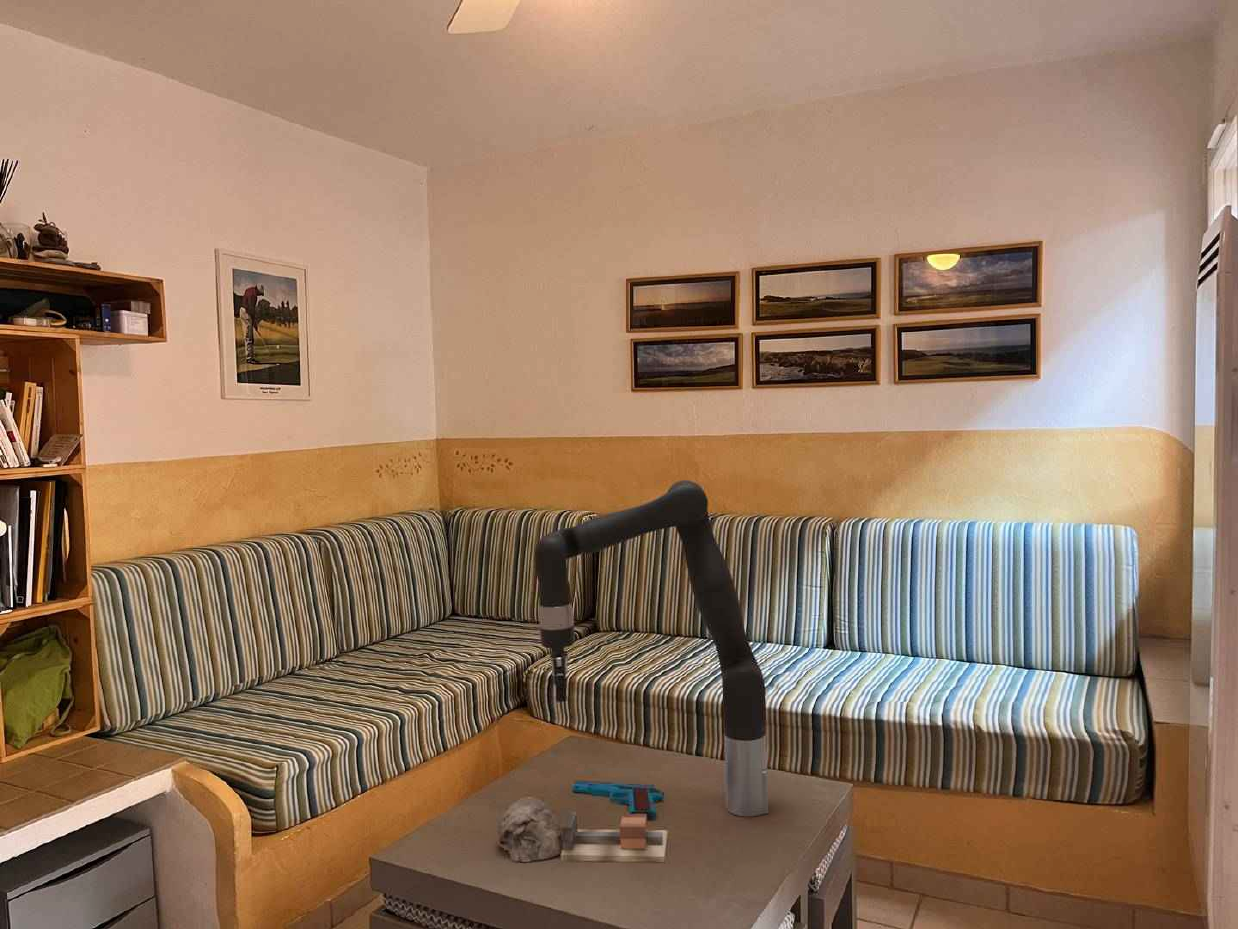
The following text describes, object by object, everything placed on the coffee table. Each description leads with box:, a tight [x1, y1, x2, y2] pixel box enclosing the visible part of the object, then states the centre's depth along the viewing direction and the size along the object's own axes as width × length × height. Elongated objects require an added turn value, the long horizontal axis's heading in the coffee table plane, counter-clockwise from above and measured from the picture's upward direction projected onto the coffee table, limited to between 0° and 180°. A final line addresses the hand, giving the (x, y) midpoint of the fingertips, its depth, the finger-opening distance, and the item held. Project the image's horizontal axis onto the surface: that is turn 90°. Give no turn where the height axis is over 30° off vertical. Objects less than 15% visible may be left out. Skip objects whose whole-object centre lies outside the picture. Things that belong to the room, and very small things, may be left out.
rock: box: [497, 796, 563, 863], centre depth 196 cm, size 15×12×10 cm
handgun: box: [572, 779, 665, 821], centre depth 216 cm, size 23×3×15 cm
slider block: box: [619, 813, 648, 849], centre depth 195 cm, size 5×6×5 cm
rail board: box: [560, 811, 669, 863], centre depth 195 cm, size 21×11×6 cm, turn 84°
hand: (561, 695), depth 210 cm, fingers open, 8 cm apart
